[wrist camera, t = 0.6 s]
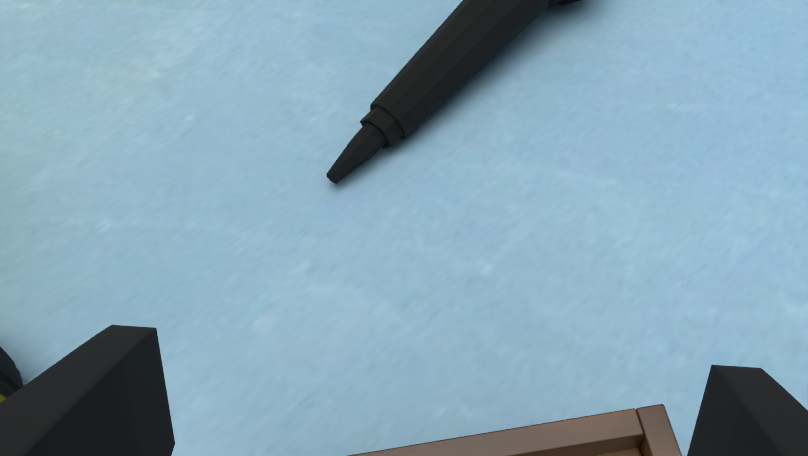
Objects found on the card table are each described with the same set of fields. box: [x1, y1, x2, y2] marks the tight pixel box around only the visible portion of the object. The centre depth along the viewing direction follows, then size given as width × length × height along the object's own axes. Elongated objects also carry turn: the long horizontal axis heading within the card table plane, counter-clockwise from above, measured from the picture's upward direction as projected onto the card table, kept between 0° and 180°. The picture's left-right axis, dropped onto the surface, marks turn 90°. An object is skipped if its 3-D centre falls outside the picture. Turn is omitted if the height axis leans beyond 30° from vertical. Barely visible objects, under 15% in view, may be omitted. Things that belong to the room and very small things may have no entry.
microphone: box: [327, 0, 581, 184], centre depth 39 cm, size 6×6×20 cm
